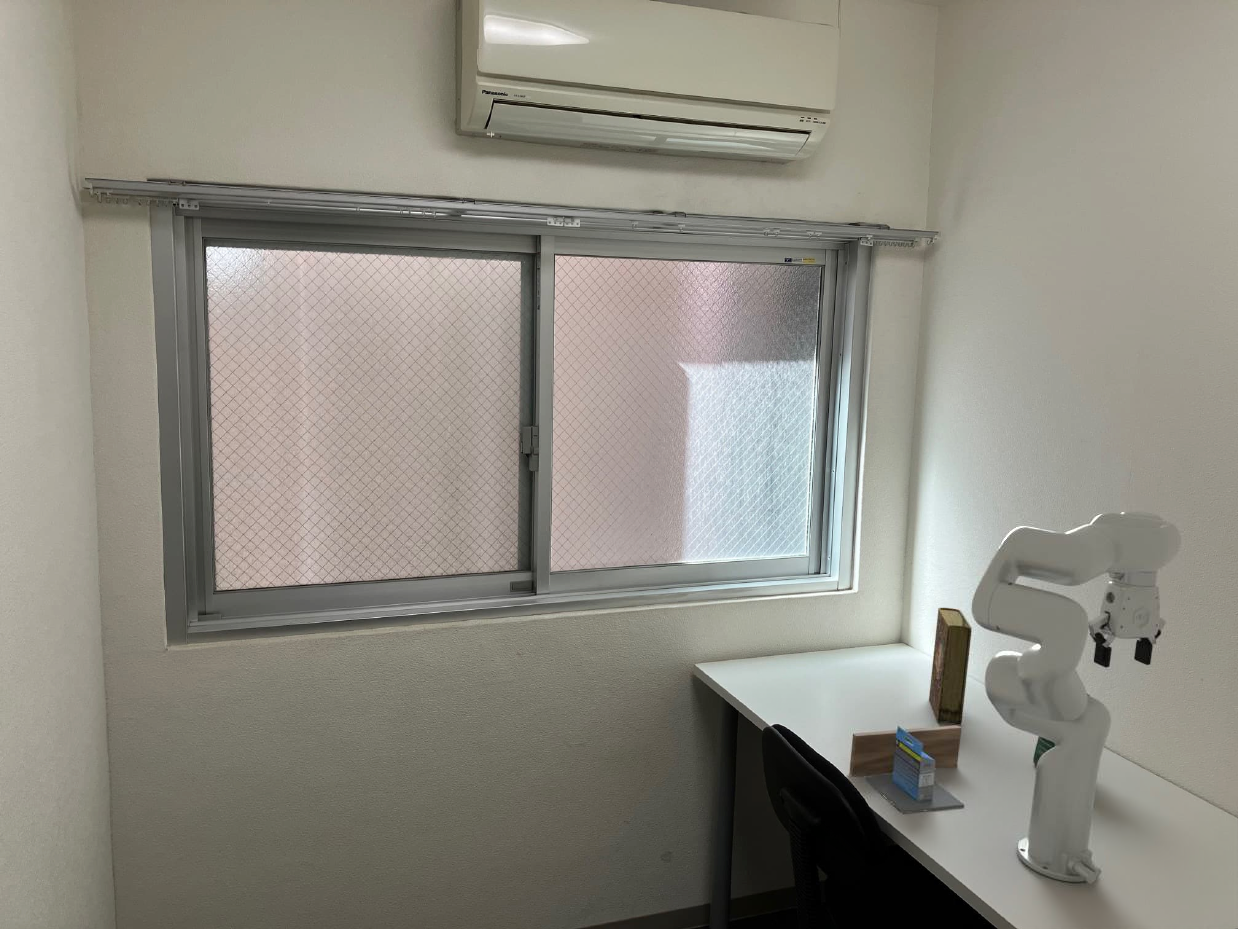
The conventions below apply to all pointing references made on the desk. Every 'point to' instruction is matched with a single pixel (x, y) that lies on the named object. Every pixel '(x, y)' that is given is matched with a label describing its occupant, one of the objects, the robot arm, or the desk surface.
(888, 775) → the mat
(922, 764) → the label tape box
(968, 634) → the book
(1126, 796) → the desk surface
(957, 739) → the walnut screen
